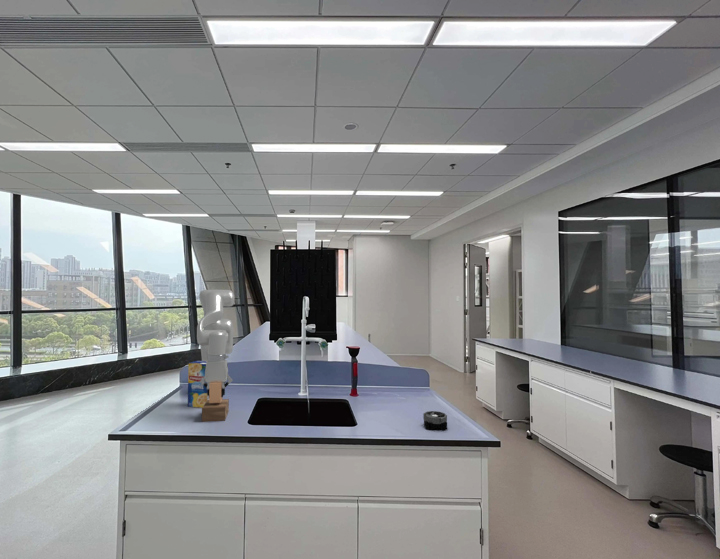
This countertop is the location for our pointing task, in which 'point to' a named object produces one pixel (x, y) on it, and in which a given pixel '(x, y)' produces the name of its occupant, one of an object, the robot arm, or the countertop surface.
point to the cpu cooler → (435, 420)
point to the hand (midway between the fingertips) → (216, 396)
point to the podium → (215, 411)
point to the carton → (215, 392)
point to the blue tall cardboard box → (196, 384)
